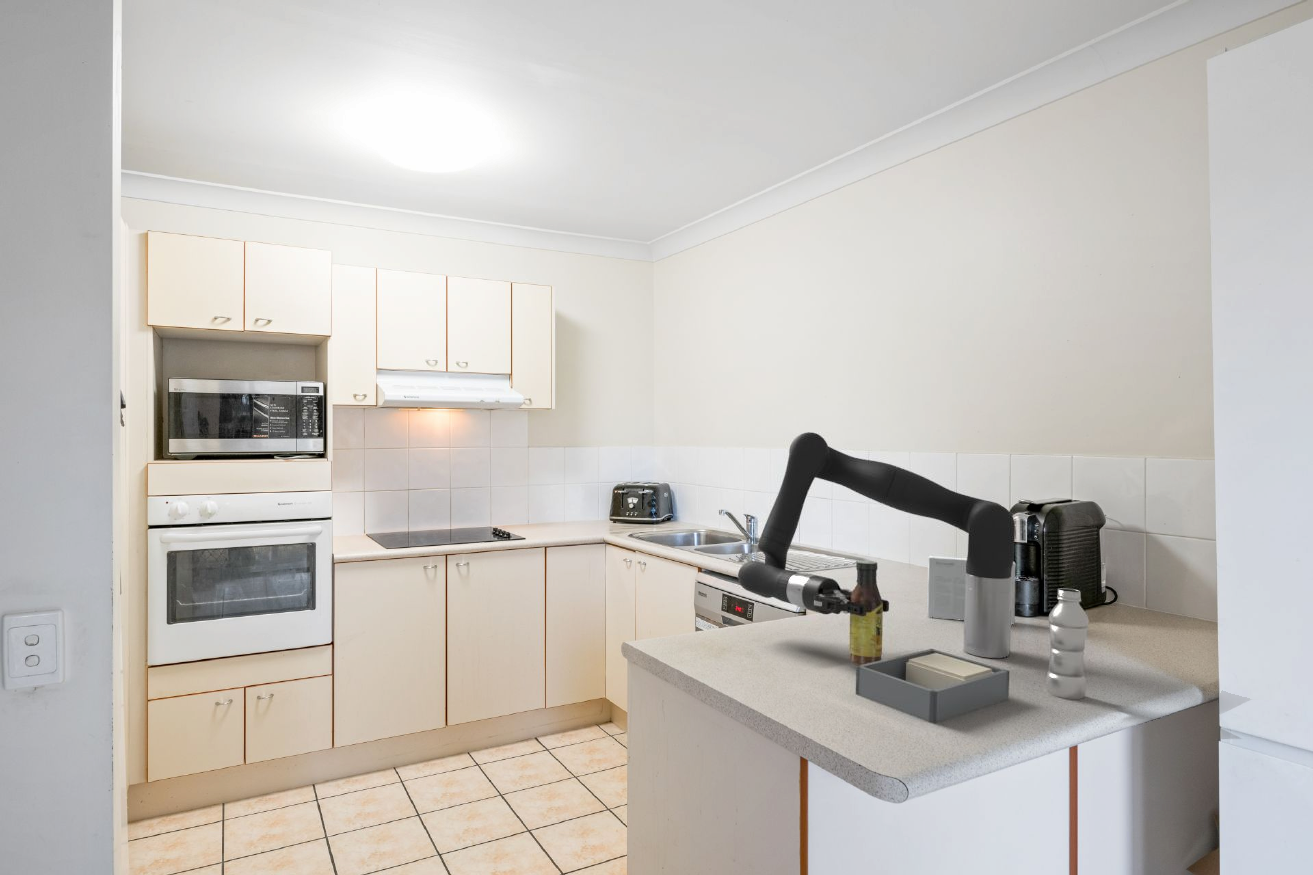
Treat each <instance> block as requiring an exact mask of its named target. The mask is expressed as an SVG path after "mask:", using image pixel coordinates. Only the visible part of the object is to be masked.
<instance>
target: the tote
mask: <svg viewBox="0 0 1313 875" xmlns="http://www.w3.org/2000/svg"><path fill="white" fill-rule="evenodd" d="M934 653H938V654H942V655H945V656H949V657H952V658H955V659H959V660H962V661H966V662H969V663H973V664H976V665H979V666H983V667H986V668H990V669H992V672H994V673H992V674H988V675H985V676H981V677H978V678H974V679H971V680H967V681H964V682H960V683H957V684H953V685H950V686H946V687H943V688H939V689H935V690H931V689H928V688H925V687H922V686H919V685H916V684H913V683H910V682H907V681H906V662H909V659H913V658H917V657H921V656H926V655H930V654H934ZM855 667H856V668H855V669H856V670H855V671H856V672H855V695H857V696H860V697H862V698H865V699H867V700H870V701H873V702H875V703H878V704H881V705H883V706H886V707H889V708H891V709H893V710H896V711H898V712H902V713H904V714H907V715H909V716H911V717H914V718H917V719H920V720H922V721H925V722H928V723H931V724H933V725H934V724H936V723H940V722H943V721H946V720H949V719H951V718H955V717H958V716H961V715H964V714H967V713H970V712H973V711H977V710H979V709H982V708H986V707H989V706H992V705H995V704H998V703H1001V702H1003V701H1007V700H1009V696H1010V695H1009V694H1010V691H1009V690H1010V670H1007V669H1004V668H1000V667H996V666H993V665H990V664H987V663H982V662H979V661H976V660H973V659H969V658H965V657H962V656H958V655H956V654H955V655H954V654H951V653H948V652H945V651H940V650H937V649H934V648H928V649H924V650H920V651H916V652H911V653H907V654H903V655H899V656H894V657H889V658H885V659H881V660H880V661H876V662H872V663H867V664H863V665H860V664H858V665H856V666H855Z"/></svg>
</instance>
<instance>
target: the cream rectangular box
mask: <svg viewBox="0 0 1313 875" xmlns="http://www.w3.org/2000/svg"><path fill="white" fill-rule="evenodd" d="M992 673H994V672H992V669H990V668H986V667H983V666H979V665H976V664H973V663H969V662H966V661H962V660H959V659H955V658H952V657H949V656H945V655H942V654H938V653H934V654H930V655H926V656H921V657H917V658H913V659H909V662H906V681H907V682H910V683H913V684H916V685H919V686H922V687H925V688H928V689H931V690H935V689H939V688H943V687H946V686H950V685H953V684H957V683H960V682H964V681H967V680H971V679H974V678H978V677H981V676H985V675H988V674H992Z"/></svg>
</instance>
